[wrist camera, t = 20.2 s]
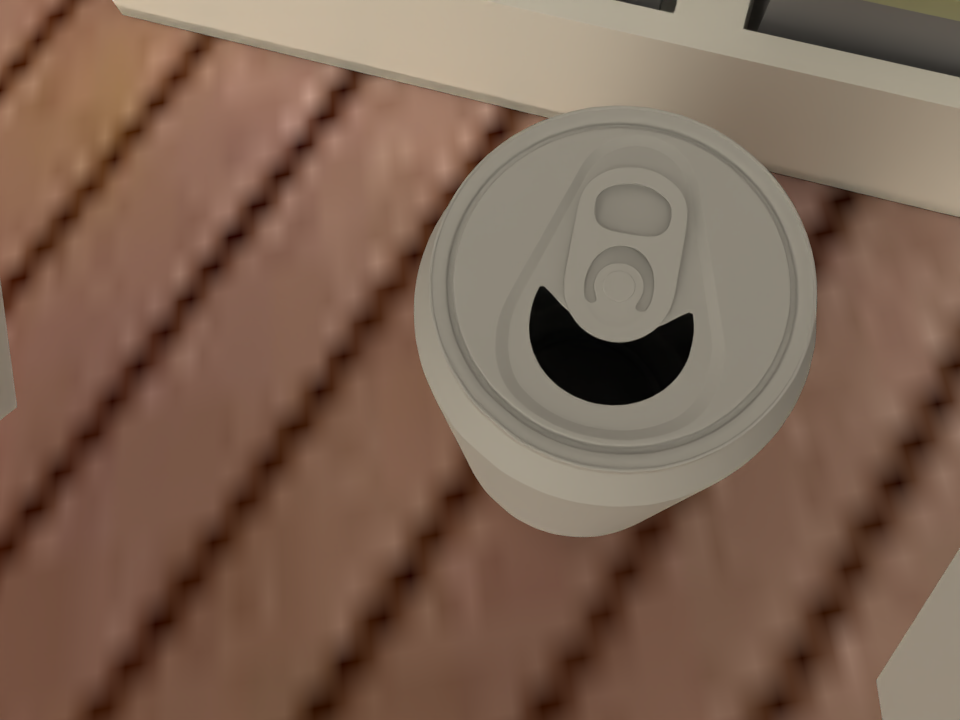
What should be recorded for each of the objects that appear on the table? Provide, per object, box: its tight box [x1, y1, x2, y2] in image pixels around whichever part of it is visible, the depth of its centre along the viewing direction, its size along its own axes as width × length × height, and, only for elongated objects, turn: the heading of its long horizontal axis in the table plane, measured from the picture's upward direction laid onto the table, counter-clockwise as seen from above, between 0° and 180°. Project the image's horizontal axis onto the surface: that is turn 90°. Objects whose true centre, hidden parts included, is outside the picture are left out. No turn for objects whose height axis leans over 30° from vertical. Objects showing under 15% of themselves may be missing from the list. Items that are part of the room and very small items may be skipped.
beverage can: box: [414, 105, 817, 537], centre depth 19 cm, size 6×6×12 cm
